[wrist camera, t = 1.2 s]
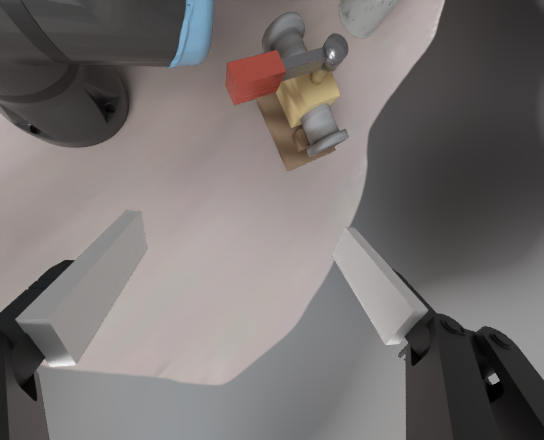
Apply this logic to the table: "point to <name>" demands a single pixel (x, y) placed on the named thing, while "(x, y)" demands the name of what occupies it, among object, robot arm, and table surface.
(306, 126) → the valve stand
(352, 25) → the speckled concrete cylinder
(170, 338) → the table surface
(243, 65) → the lever
